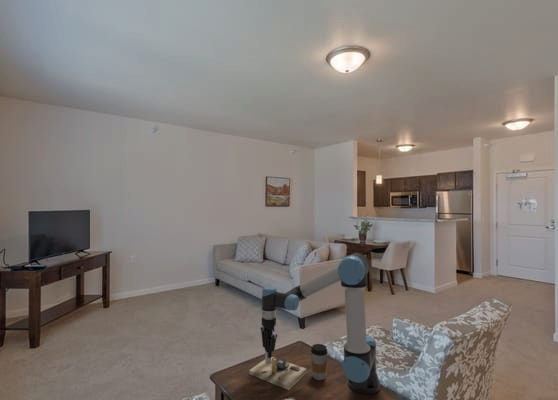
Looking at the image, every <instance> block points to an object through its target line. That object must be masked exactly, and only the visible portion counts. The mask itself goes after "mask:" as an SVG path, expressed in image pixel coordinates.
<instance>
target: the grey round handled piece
mask: <svg viewBox="0 0 558 400" xmlns="http://www.w3.org/2000/svg"><path fill="white" fill-rule="evenodd" d="M286 362H287V359H285V358H283V357H278V358H277V359H276V357H274V358H272V374H273V375H275V374H276V373H277V370H283V369H285V368H286V369H287V368H288V367H289V365H287V366H286Z"/></svg>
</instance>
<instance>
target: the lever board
mask: <svg viewBox="0 0 558 400" xmlns="http://www.w3.org/2000/svg"><path fill="white" fill-rule="evenodd" d="M272 358H276V357H274V356H272V357H271V363H270V364H266V363H265V359H263V360H262V361H260V362H259V363H257V364H256V365H255V366H253V367H252V368H251V369H249V374H248V375H249V376H252V377H255V378H258V379H261V380H263V381H265V382H268V383H270V384H272V385H275V386H278V387H281V388H282V389H285V390H288V391H290V390H291V389H292V388H293V387H294V386H295V385H296V384H297V383H298V382H299V381H300V380H301V379H302V378H303V377H305V375H306V374H307V373H308V369H307V367H303V366H300V365H297V364H294V363H291V362H289V361H286V366H287V365H289V367H288V368H287V369H286V368H285V369H283V370H277V373H276V374H275V375H273V374H272ZM276 359H277V358H276Z"/></svg>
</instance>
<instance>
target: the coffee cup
mask: <svg viewBox="0 0 558 400" xmlns="http://www.w3.org/2000/svg"><path fill="white" fill-rule="evenodd" d="M310 353H311V369H312V377H313V379H315V380H316V381H323V380H325V378H326V373H327V363H328V361H327V359H328V358H327V356H328V349H327V346H326V345H324V344H321V343H315V344H313V345H312V346H311V348H310Z"/></svg>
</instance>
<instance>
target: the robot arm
mask: <svg viewBox="0 0 558 400" xmlns="http://www.w3.org/2000/svg"><path fill="white" fill-rule="evenodd" d="M370 264H371V263H370V261H369V259H368V257H367V256H365V255H364V254H363V253H360V252H354V253H351V254H349V255H348V256H344V258H342V259H341V260H340V262H339V264H338V265H336V266H334V267H331V268H329V270H326V271H325V272H323V273H321V274H319V275H317V276H315V277H313V278H311V279H308V280H307V281H305V282H304V283H303V282H302V283H301V284H299V285H296V286H294V287H293V288H292V289H290V290H289V291H286V292H280V291H279V292H278V291H277V288H276V287H275V286H269V285H268V286H264V287H262V291H261V326H260V327H259V328H260V333H261V342H262V348H264V354H265V356H264V357H265V363H266V364H270V363H271V357H273V356H272V355H273V352H274V351H275V348H276V342H277V337H278V334H277V333H275V331H276V330H275V326H276V325H277V308H278V309H283V310H287V311H297V310H298V308H299V306H300V305H299V304H300V302H302V301H304V300H306V299H308V298H309V297H312V296H314V295H316V294H317V293H320V292H322V291H324V290H326V289H328V288H330V287H332V286H335V285H336V284H339V283H340V285H341V287H342V288H343V289H344V302H345V304H344V305H345V329H346V330H345V331H346V342H345V343H344V344H343V360H342V363H341V369H342V370H341V371H342V372H343V374H344V375H345V377H346V378H347V385H348V387H349V388H350V389H351V390H353V391H354V392H356V393H358V394H362V395H373V394H376V393H378V392H379V391H380V389H381V382H380V379H379V376H378V373H377V341H376V339H375V338H373V337H372V336H370V335H367V325H366V322H367V321H366V307H365V306H366V305H365V304H366V303H365V302H366V300H365V289H366V288H367V287H368V273H369V271H370V268H371V265H370Z"/></svg>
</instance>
